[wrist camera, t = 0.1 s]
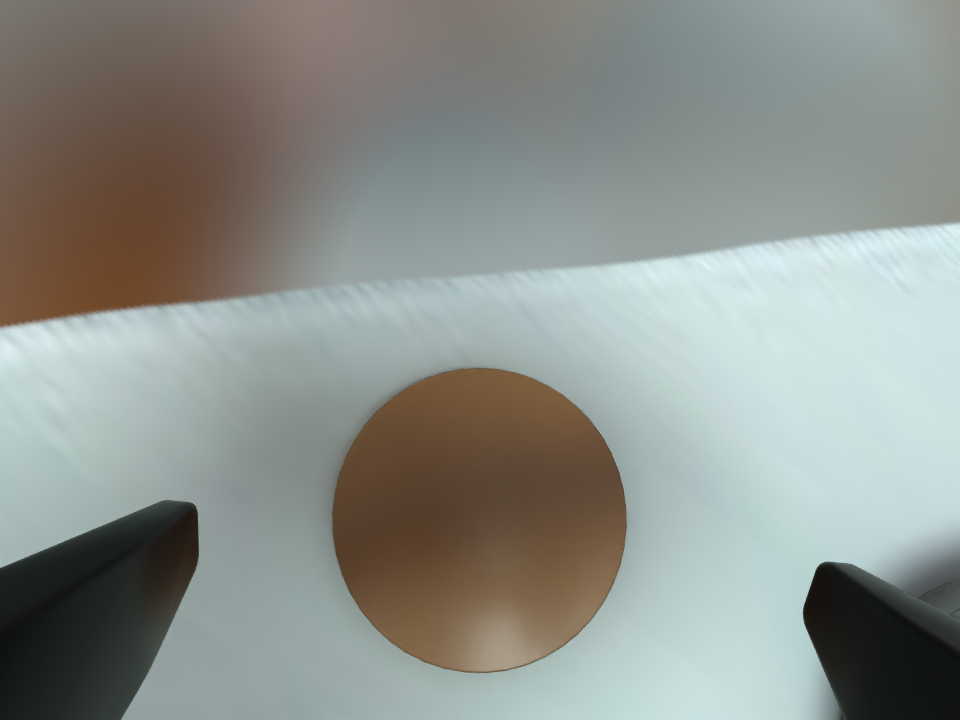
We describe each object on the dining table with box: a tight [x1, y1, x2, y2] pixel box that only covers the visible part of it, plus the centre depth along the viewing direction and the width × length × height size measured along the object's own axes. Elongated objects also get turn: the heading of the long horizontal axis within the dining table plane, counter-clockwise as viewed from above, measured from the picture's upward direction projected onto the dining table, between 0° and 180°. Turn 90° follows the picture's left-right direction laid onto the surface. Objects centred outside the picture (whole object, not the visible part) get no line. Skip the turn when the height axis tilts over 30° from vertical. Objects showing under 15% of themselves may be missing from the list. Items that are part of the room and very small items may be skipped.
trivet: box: [332, 368, 627, 673], centre depth 23 cm, size 11×11×1 cm
